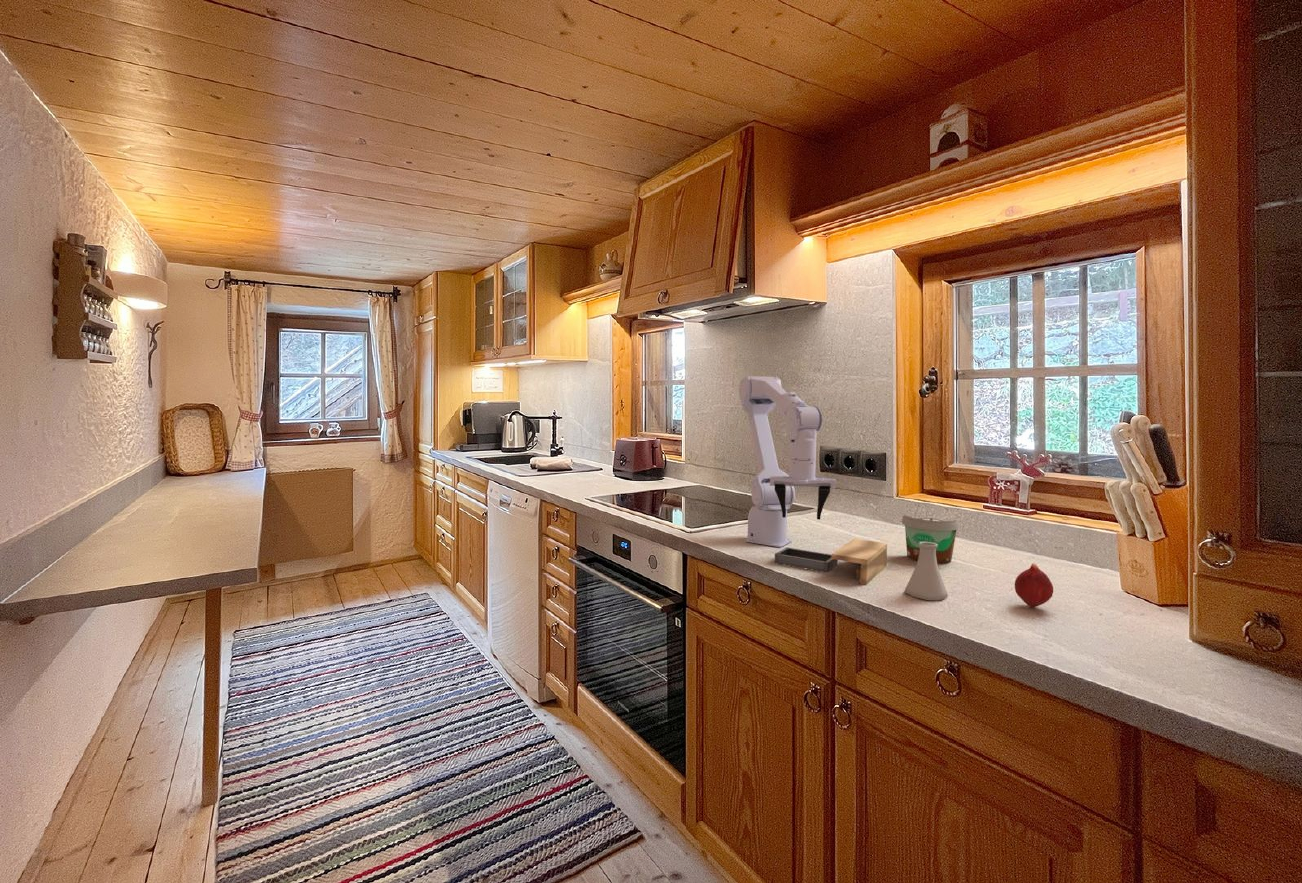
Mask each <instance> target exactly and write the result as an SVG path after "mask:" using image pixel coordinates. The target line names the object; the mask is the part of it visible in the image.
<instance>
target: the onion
mask: <svg viewBox="0 0 1302 883" xmlns="http://www.w3.org/2000/svg"><path fill="white" fill-rule="evenodd" d="M1014 591H1015V593H1016V595H1017V596H1018V597H1019V598H1020V599H1021V601H1023V602H1024V603H1025V605H1027V606H1028V607H1029V608H1037V607H1039V606H1042V605H1044V604H1045V603H1047V602H1048V601H1050V600H1051V598H1052V597H1053V596H1054V595H1053V594H1054V585H1053V583H1052V581H1051V579H1050V578H1049V576H1048V575H1047V574H1046V573H1045V572H1044V571H1043V570H1041V569H1040V568H1039V566H1037V564H1036V563H1035V562H1031V565H1030V567H1029V568H1027V569H1025V570H1023V571H1021V573H1019V574H1018V575H1017V576H1016V578H1015V581H1014Z"/></svg>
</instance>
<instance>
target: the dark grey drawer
mask: <svg viewBox="0 0 1302 883" xmlns="http://www.w3.org/2000/svg"><path fill="white" fill-rule="evenodd" d="M831 555H832V553H824V552H818V551H817V552H816V551H813V550H807V549H806V550H804V549H799V548H793V547H792V548H791V547H785V548H783V549H781V550H780V551H777V552H775V553H774V564H776V563H777V564H776V565H782V564H785V565H784V566H787V565H790V566H789V567H793V566H794V568H798V567H799V569H800V568H801V569H804V568H807V569H806V570H810V569H813V570H812V571H815V570H817V572H821V571H822V572H821V573H829V572H830V571H832V570H833V569H834V568H835V567H837V566H838V564H839V563H838V562H839V560H836V559H831ZM832 568H833V569H832ZM831 569H832V570H831Z"/></svg>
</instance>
